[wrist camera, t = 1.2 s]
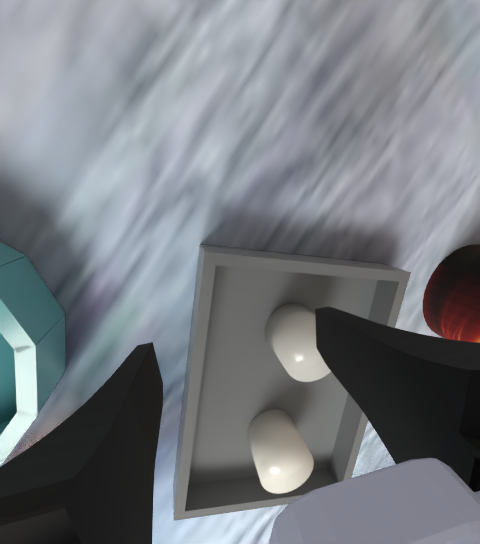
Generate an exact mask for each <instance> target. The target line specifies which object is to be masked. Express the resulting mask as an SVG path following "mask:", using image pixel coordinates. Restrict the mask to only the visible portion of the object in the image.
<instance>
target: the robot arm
mask: <svg viewBox="0 0 480 544" xmlns="http://www.w3.org/2000/svg"><path fill="white" fill-rule="evenodd" d="M315 320H316V348H317V350H318V352H319V353H320V355H321V357H322V359H323V360H324V362H325V363H326V365H327V367H328V368H329V369H330V370H331V372H332V373H333V374H334V376H335V377H336V378H337V379H338V381H339V382H340V383H341V384H342V386H343V387H344V388H345V389H346V391H347V392H348V393H349V394H350V396H351V397H352V398H353V399H354V401H355V402H356V403H357V404H358V406H359V407H360V408H361V410H362V411H363V412H364V414H365V415H366V417H367V418H368V420H369V421H370V423H371V424H372V426H373V428H374V429H375V431H376V432H377V434H378V435H379V437H380V438H381V440H382V442H383V443H384V445H385V447H386V448H387V450H388V452H389V453H390V455H391V456H392V458H393V460H394V461H395V463H396V465H393V466H389V467H386V468H383V469H380V470H377V471H373V472H370V473H367V474H364V475H360V476H357V477H354V478H351V479H348V480H344V481H341V482H338V483H335V484H331V485H328V486H325V487H322V488H319V489H315V490H312V491H311V492H309V493H307V494H305V495H303V496H301V497H299V498H297V499H295V500H293V501H291V502H290V503H289V505H288V506H287V507H286V508H285V509H284V510H283V511H282V512H281V513H280V514H279V515H278V516H277V518H276V520H275V522H274V525H273V529H272V533H271V537H270V541H269V542H270V544H480V343H478V342H467V341H459V340H451V339H445V338H438V337H432V336H427V335H422V334H417V333H413V332H409V331H404V330H400V329H397V328H393V327H390V326H386V325H383V324H380V323H377V322H373V321H370V320H367V319H365V318H362V317H359V316H356V315H353V314H350V313H348V312H345V311H342V310H339V309H336V308H332V307H328V306H327V307H323V308H318V309H315ZM162 406H163V382H162V378H161V374H160V370H159V366H158V362H157V358H156V354H155V350H154V346H153V342H152V343H147V344H142V345H138V346H137V347H136V348H135V349H134V350H133V351H132V352H131V354H130V355H129V356H128V357H127V358H126V360H125V361H124V362H123V363H122V364H121V366H120V367H119V368H118V369H117V370H116V371H115V373H114V374H113V375H112V376H111V377H110V378H109V379H108V380H107V381H106V382H105V384H104V385H103V386H102V387H101V388H100V389H99V390H98V391H97V392H96V393H95V394H94V395H93V396H92V397H91V398H90V399H89V400H88V401H87V402H86V403H85V404H84V405H83V406H81V407H80V408H79V409H78V410H77V411H76V412H75V413H74V414H72V415H71V416H70V417H69V418H68V419H66V420H65V421H64V422H63V423H61V424H60V425H59V426H58V427H56V428H55V429H54V430H52V431H51V432H50V433H49V434H47V435H46V436H45V437H43V438H42V439H41V440H39V441H38V442H37V443H35V444H34V445H32V446H31V447H30V448H28V449H27V450H25V451H24V452H22V453H21V454H19V455H18V456H16V457H15V458H13V459H12V460H10V461H9V462H7V463H6V464H4V465H3V466H1V467H0V544H152V518H153V487H154V468H155V458H156V451H157V444H158V437H159V429H160V422H161V414H162Z"/></svg>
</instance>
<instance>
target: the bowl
mask: <svg viewBox="0 0 480 544" xmlns="http://www.w3.org/2000/svg"><path fill="white" fill-rule="evenodd" d="M64 371H65V312H64V310H63V309H62V307H61V306H60V305H59V303H58V302H57V300H56V299H55V297H54V296H53V294H52V293H51V291H50V290H49V288H48V287H47V285H46V284H45V282H44V281H43V279H42V278H41V277H40V275H39V274H38V272H37V271H36V269H35V268H34V266H33V265H32V263H31V262H30V260H29V259H28V257H27V256H26V255H24V254H22V253H21V252H19V251H17V250H15V249H14V248H12V247H10V246H8V245H6V244H5V243H3V242H1V241H0V466H1V465H2V463H3V462H4V461H5V459H6V458H7V456H8V455H9V454H10V452H11V451H12V450H13V448H14V447H15V445H16V444H17V443H18V441H19V440H20V439H21V437H22V436H23V435H24V433H25V432H26V430H27V429H28V428H29V426H30V425H31V424H32V422H33V421H34V420H35V418H36V417H37V415H38V414H39V412H40V410H41V409H42V407H43V406H44V404H45V402H46V401H47V399H48V397H49V396H50V394H51V392H52V391H53V389H54V388H55V386H56V384H57V383H58V381H59V379H60V378H61V376H62V375H63V373H64Z"/></svg>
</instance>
